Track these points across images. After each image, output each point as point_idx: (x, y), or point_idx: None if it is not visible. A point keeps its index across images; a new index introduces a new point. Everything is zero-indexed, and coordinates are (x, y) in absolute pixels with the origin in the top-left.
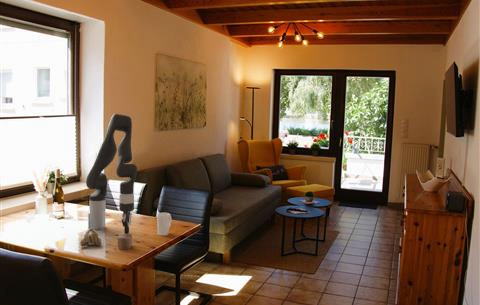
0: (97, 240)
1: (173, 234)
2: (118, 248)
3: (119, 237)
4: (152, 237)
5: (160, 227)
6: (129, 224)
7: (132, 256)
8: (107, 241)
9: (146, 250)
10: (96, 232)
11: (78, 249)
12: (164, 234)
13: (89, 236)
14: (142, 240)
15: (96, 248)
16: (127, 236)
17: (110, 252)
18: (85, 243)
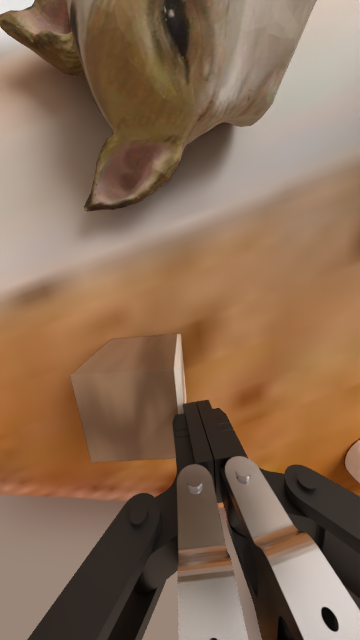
0: (140, 154)
1: (357, 491)
2: (111, 341)
3: (87, 385)
4: (318, 432)
5: None
6: (242, 532)
7: (2, 455)
8: (239, 221)
9: (119, 477)
10: (271, 60)
11: (8, 35)
12: (349, 471)
13: (70, 3)
14: (271, 407)
15: (78, 194)
16: (124, 440)
17: (26, 320)
18: (48, 49)
